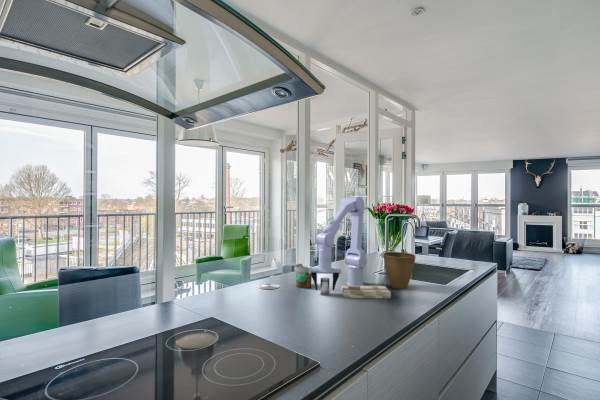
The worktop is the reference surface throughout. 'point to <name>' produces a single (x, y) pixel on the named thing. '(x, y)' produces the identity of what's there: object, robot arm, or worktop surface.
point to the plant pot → (399, 268)
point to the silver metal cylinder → (324, 286)
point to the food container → (303, 276)
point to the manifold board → (365, 291)
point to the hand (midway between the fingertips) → (324, 289)
